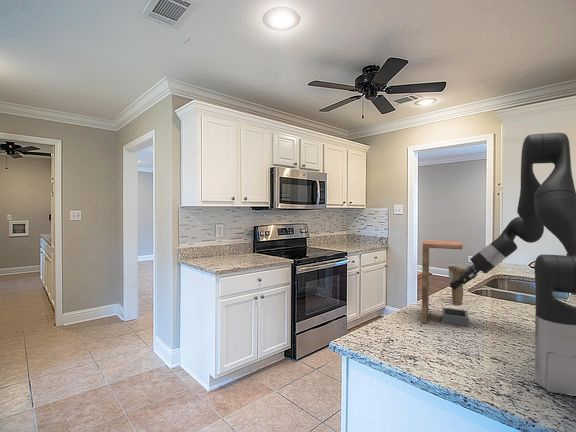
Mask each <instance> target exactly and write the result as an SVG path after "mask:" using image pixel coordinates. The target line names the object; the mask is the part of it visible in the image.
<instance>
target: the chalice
mask: <svg viewBox="0 0 576 432" xmlns="http://www.w3.org/2000/svg"><path fill="white" fill-rule="evenodd" d="M449 266H460V267H465V265H462V264H447V267H448V268H449ZM448 277H449V279H450V283H451V282H452V281H453V272H451V271H450V270H449V269H448ZM449 304H450V305H454V304H453V299H452V298H451V299H450V302H449Z"/></svg>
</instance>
